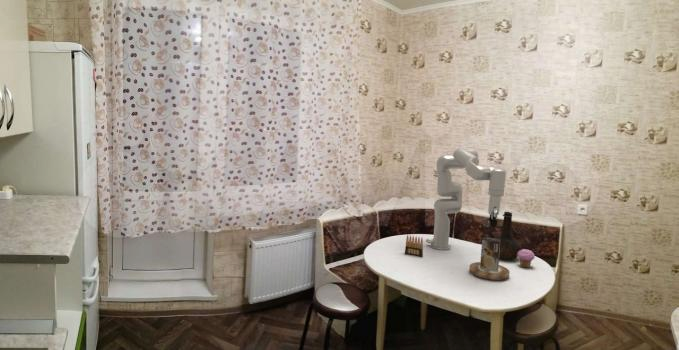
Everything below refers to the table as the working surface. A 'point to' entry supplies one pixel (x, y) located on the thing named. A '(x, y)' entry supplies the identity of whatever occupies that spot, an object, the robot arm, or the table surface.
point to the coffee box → (490, 254)
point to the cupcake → (525, 257)
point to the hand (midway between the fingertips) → (492, 224)
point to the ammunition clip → (414, 247)
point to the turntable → (489, 272)
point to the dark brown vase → (508, 239)
